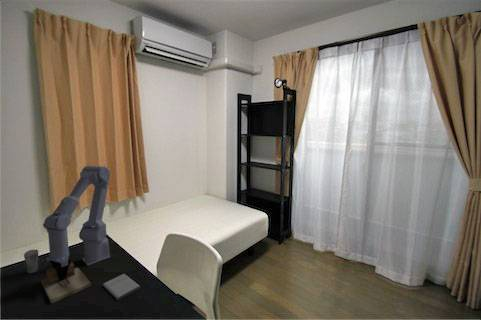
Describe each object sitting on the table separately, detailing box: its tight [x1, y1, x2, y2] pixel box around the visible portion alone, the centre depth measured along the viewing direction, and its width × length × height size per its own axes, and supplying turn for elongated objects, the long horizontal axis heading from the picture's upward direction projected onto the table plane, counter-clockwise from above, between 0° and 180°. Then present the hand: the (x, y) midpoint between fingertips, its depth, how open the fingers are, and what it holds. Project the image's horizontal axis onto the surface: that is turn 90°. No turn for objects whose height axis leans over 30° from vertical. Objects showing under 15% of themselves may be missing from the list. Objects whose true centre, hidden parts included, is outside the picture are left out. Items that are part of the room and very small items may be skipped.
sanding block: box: [46, 260, 75, 285], centre depth 89 cm, size 8×4×4 cm, turn 141°
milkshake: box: [23, 249, 39, 274], centre depth 94 cm, size 4×5×10 cm
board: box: [41, 266, 92, 304], centre depth 87 cm, size 12×16×1 cm
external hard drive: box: [102, 273, 141, 301], centre depth 86 cm, size 2×8×12 cm
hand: (61, 276), depth 89 cm, fingers closed on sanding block, 4 cm apart
